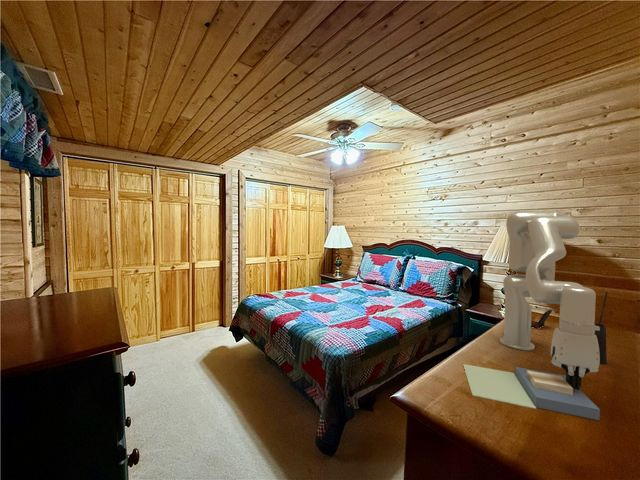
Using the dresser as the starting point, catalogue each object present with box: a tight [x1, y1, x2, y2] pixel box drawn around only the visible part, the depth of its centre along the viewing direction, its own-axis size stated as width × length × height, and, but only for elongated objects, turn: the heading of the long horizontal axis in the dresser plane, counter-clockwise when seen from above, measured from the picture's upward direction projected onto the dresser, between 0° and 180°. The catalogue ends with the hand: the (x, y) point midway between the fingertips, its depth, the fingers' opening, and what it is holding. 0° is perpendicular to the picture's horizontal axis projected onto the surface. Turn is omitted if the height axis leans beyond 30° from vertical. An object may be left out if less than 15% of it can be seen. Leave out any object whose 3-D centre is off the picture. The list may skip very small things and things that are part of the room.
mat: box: [462, 363, 537, 410], centre depth 87 cm, size 20×16×1 cm
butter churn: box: [594, 291, 608, 365], centre depth 104 cm, size 9×10×28 cm
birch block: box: [526, 370, 573, 395], centre depth 81 cm, size 7×9×2 cm
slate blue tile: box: [514, 366, 601, 421], centre depth 81 cm, size 18×14×3 cm
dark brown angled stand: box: [531, 309, 553, 330], centre depth 141 cm, size 9×12×10 cm
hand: (573, 386), depth 79 cm, fingers closed
